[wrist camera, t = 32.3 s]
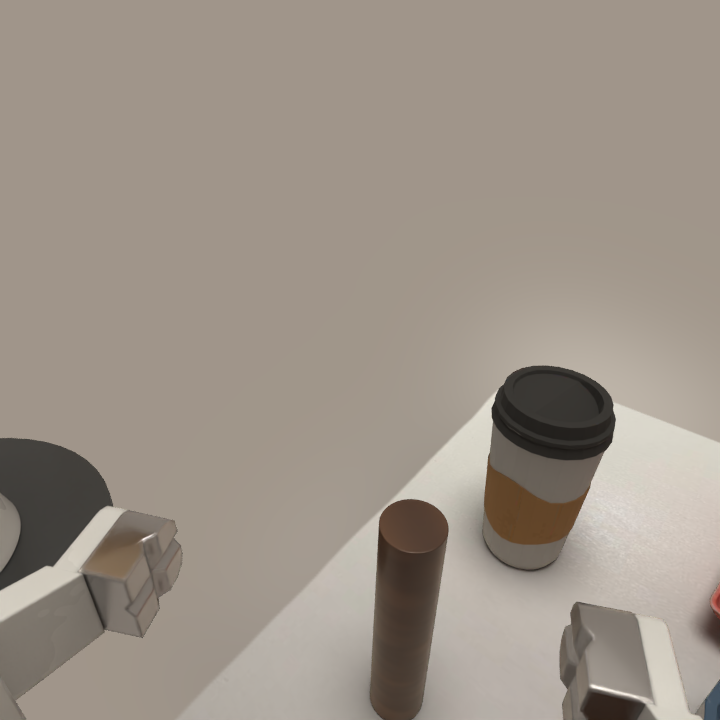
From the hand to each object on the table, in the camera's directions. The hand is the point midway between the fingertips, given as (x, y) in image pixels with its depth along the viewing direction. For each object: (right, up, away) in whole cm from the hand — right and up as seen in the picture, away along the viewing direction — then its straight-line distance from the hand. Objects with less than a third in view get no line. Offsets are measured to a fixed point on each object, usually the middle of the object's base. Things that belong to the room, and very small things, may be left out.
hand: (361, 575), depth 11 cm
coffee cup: (+13, -11, +36) cm, 39 cm away
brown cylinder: (+2, -17, +25) cm, 30 cm away
